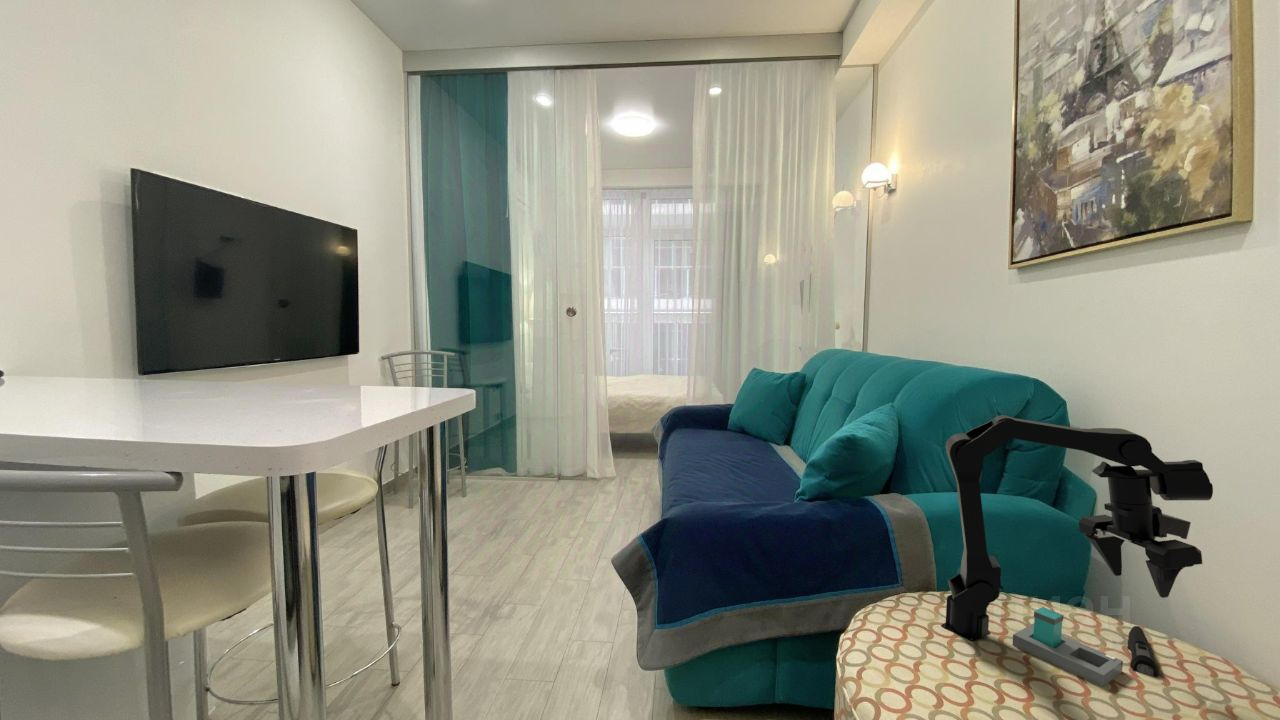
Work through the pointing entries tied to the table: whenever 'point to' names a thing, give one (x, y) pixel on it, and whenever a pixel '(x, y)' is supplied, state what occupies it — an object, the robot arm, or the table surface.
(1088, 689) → the table surface
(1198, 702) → the table surface
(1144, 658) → the electric trimmer
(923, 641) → the table surface
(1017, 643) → the grey flat block
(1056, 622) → the plug
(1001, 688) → the table surface
